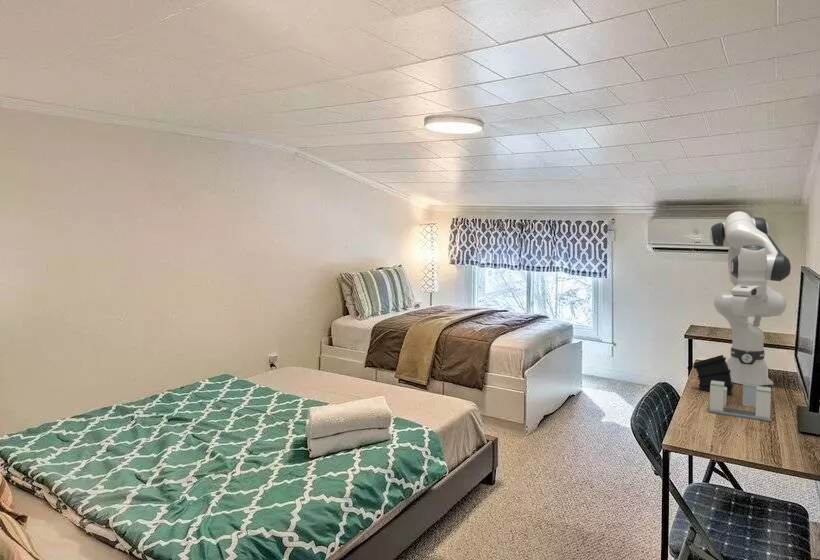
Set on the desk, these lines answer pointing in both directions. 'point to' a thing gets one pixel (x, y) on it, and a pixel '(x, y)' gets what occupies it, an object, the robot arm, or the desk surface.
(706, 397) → the desk surface
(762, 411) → the block
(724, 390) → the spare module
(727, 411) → the rail plate
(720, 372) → the black ridged block
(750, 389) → the block
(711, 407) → the block
